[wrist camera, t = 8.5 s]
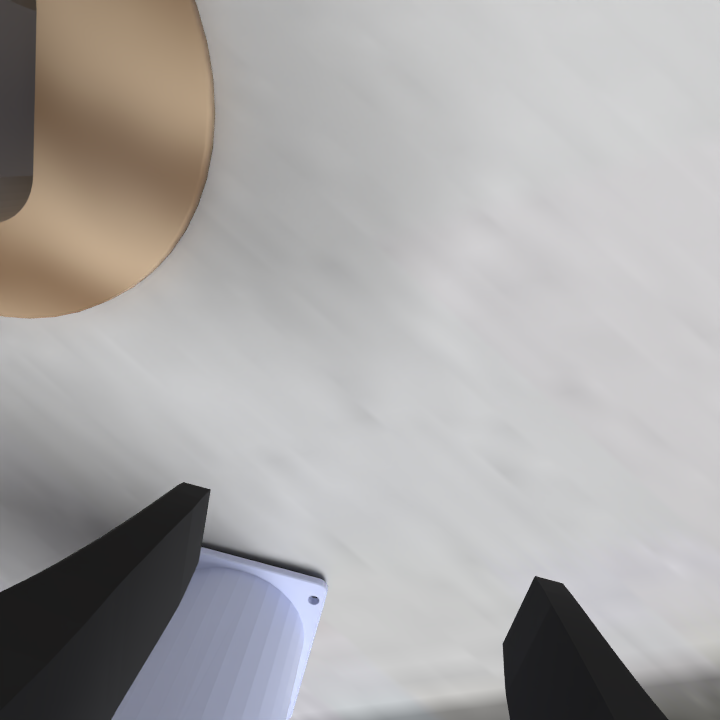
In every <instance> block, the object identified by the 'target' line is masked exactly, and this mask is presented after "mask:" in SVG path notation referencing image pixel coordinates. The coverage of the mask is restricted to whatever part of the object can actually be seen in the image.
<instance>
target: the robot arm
mask: <svg viewBox="0 0 720 720" xmlns="http://www.w3.org/2000/svg"><path fill="white" fill-rule="evenodd" d="M209 496H210V489H207V488H203V487H199V486H195V485H192V484H188V483H184V482H183V483H181V484H179V485H177V486H176V487H175V488H173V489H172V490H170V491H169V492H168V493H166V494H165V495H163V496H162V497H160V498H159V499H158V500H156V501H155V502H153V503H152V504H151V505H149V506H148V507H146V508H145V509H143V510H142V511H140V512H139V513H137V514H136V515H134V516H133V517H132V518H130V519H128V520H127V521H125V522H124V523H122V524H121V525H119V526H118V527H116V528H115V529H113V530H111V531H110V532H108V533H107V534H105V535H104V536H102V537H101V538H99V539H97V540H96V541H94V542H92V543H91V544H89V545H87V546H86V547H84V548H82V549H80V550H79V551H77V552H75V553H74V554H72V555H70V556H68V557H67V558H65V559H63V560H62V561H60V562H58V563H56V564H55V565H53V566H51V567H49V568H47V569H45V570H43V571H42V572H40V573H38V574H36V575H34V576H32V577H30V578H28V579H26V580H24V581H22V582H20V583H18V584H16V585H14V586H12V587H10V588H8V589H6V590H4V591H2V592H0V720H288V719H290V718H291V716H292V713H293V710H294V706H295V703H296V699H297V696H298V692H299V689H300V685H301V682H302V678H303V675H304V671H305V668H306V664H307V661H308V658H309V654H310V651H311V647H312V644H313V640H314V637H315V633H316V630H317V626H318V623H319V619H320V616H321V612H322V609H323V605H324V602H325V599H326V595H327V590H328V585H327V583H326V582H325V581H324V580H322V579H320V578H316V577H312V576H308V575H305V574H301V573H297V572H293V571H290V570H286V569H282V568H278V567H275V566H271V565H267V564H264V563H260V562H256V561H252V560H249V559H245V558H241V557H237V556H234V555H230V554H226V553H222V552H219V551H215V550H211V549H207V548H204V547H201V545H202V539H203V533H204V527H205V521H206V515H207V509H208V502H209ZM311 596H316V597H318V598H313V597H311ZM503 658H504V676H505V689H506V698H507V704H508V710H509V715H510V720H668V719H667V717H666V716H665V715H664V714H663V713H662V711H661V710H660V709H659V708H658V707H657V705H656V704H655V703H654V702H653V701H652V699H651V698H650V697H649V696H648V694H647V693H646V692H645V691H644V689H643V688H642V687H641V686H640V684H639V683H638V682H637V681H636V679H635V678H634V677H633V675H632V674H631V673H630V672H629V670H628V669H627V668H626V666H625V665H624V664H623V662H622V661H621V660H620V659H619V657H618V656H617V655H616V653H615V652H614V651H613V649H612V648H611V647H610V645H609V644H608V643H607V641H606V640H605V639H604V637H603V636H602V635H601V633H600V632H599V631H598V629H597V628H596V626H595V625H594V624H593V622H592V621H591V620H590V618H589V617H588V616H587V614H586V613H585V612H584V610H583V609H582V608H581V606H580V605H579V604H578V602H577V601H576V600H575V598H574V597H573V596H572V594H571V593H570V592H569V591H568V589H567V588H566V587H565V586H564V584H563V583H559V582H555V581H552V580H548V579H544V578H540V577H537V576H535V577H534V579H533V581H532V584H531V586H530V588H529V590H528V592H527V594H526V596H525V598H524V600H523V602H522V605H521V607H520V609H519V611H518V613H517V615H516V617H515V619H514V621H513V623H512V625H511V628H510V630H509V632H508V634H507V636H506V638H505V640H504V642H503Z"/></svg>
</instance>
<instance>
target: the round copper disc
mask: <svg viewBox="0 0 720 720" xmlns="http://www.w3.org/2000/svg"><path fill="white" fill-rule="evenodd" d="M36 8H37V18H36V66H35V113H34V160H33V184H32V188H31V193H30V195H29V198H28V200H27V202H26V204H25V205H24V207H23V208H22V209H21V210H20V211H19V212H18V213H17V214H16V215H15V216H13V217H12V218H10V219H8V220H6V221H3V222H0V316H4V317H17V318H45V317H57V316H61V315H66V314H71V313H76V312H80V311H83V310H85V309H88V308H91V307H93V306H96V305H99V304H101V303H104V302H106V301H108V300H110V299H113V298H115V297H116V296H118V295H120V294H122V293H123V292H125V291H127V290H129V289H131V288H132V287H134V286H135V285H137V284H138V283H139V282H141V281H142V280H143V279H144V278H146V277H147V276H148V275H149V274H151V273H152V272H153V271H154V270H155V269H156V268H157V267H158V266H159V265H160V264H161V263H162V262H163V261H164V259H165V258H166V257H167V256H168V255H169V254H170V253H171V252H172V250H173V249H174V247H175V246H176V244H177V243H178V241H179V240H180V238H181V237H182V236H183V234H184V233H185V231H186V229H187V227H188V225H189V223H190V221H191V219H192V217H193V215H194V213H195V211H196V209H197V207H198V204H199V201H200V198H201V195H202V192H203V189H204V186H205V183H206V180H207V175H208V170H209V165H210V160H211V154H212V149H213V137H214V122H215V105H214V85H213V75H212V69H211V63H210V57H209V51H208V45H207V40H206V37H205V33H204V30H203V26H202V22H201V19H200V15H199V12H198V8H197V5H196V3H195V0H36Z"/></svg>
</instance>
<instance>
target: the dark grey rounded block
mask: <svg viewBox="0 0 720 720" xmlns="http://www.w3.org/2000/svg"><path fill="white" fill-rule="evenodd" d="M36 18H37V8H36V0H0V222H3V221H6V220H8V219H10V218H12V217H13V216H15V215H16V214H17V213H18V212H19V211H20V210H21V209H22V208H23V207H24V205H25V204H26V202H27V200H28V198H29V195H30V193H31V188H32V184H33V160H34V113H35V66H36Z"/></svg>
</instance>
